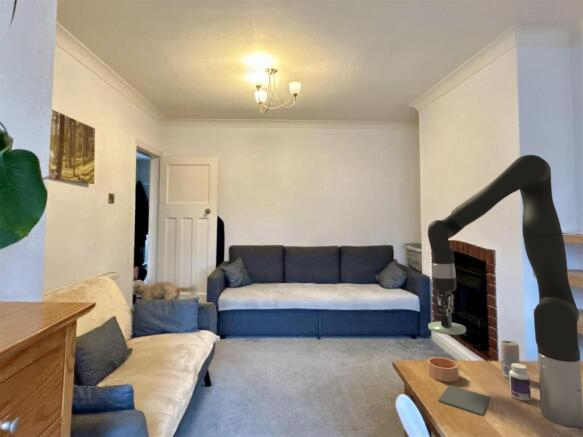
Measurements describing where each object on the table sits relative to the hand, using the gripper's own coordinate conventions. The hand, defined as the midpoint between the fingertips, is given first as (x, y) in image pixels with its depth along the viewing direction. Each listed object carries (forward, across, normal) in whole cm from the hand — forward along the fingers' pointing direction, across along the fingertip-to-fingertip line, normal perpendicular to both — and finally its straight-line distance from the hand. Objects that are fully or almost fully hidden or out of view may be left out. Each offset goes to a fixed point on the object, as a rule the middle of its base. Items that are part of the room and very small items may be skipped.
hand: (446, 324), depth 111 cm
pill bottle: (+20, +4, -20) cm, 29 cm away
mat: (+20, -10, -7) cm, 23 cm away
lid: (+2, 0, 0) cm, 2 cm away
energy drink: (+20, +18, -16) cm, 31 cm away
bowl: (+20, +3, +3) cm, 20 cm away
